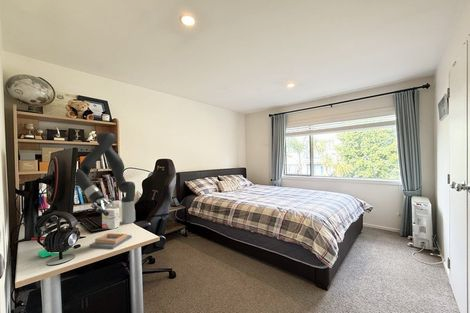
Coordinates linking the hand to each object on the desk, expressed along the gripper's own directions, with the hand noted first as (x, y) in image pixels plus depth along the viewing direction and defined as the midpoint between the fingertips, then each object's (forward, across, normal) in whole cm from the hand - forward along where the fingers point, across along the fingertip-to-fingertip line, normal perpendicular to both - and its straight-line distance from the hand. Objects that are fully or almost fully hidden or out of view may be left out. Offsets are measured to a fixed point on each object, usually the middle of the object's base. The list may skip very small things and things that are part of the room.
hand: (111, 213), depth 127 cm
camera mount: (-3, -16, +29) cm, 34 cm away
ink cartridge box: (+6, 0, +6) cm, 9 cm away
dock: (+13, 0, +13) cm, 18 cm away
